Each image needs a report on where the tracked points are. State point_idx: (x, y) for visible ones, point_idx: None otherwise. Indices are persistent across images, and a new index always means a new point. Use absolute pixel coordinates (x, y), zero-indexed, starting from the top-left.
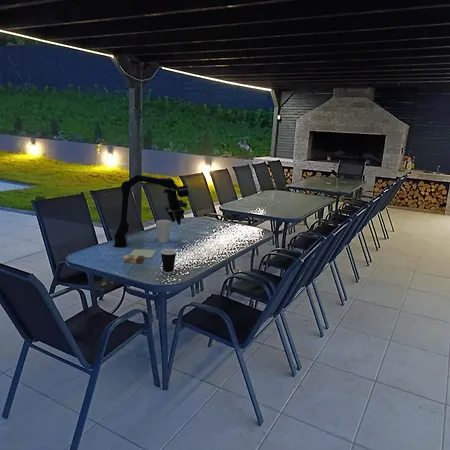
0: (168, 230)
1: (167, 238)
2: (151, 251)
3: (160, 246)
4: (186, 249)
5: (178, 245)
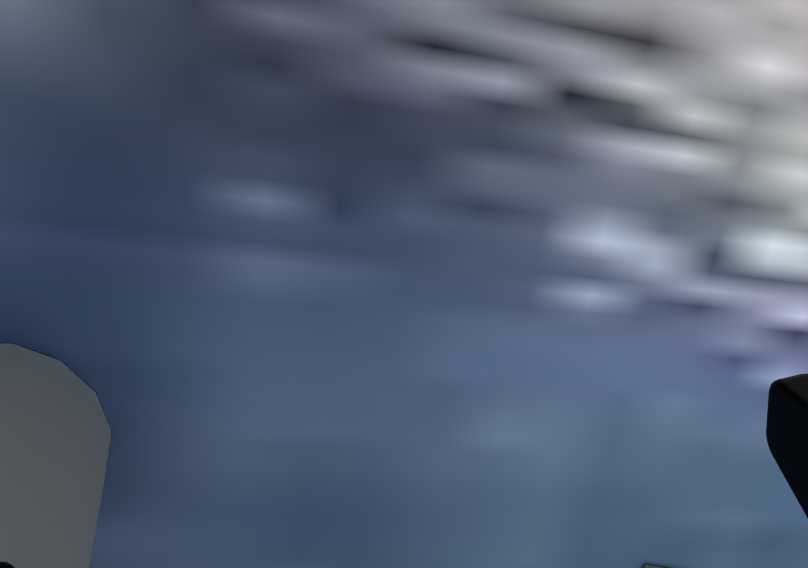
0: (2, 513)
1: (62, 409)
2: None
3: (372, 501)
4: (650, 44)
5: (347, 170)
